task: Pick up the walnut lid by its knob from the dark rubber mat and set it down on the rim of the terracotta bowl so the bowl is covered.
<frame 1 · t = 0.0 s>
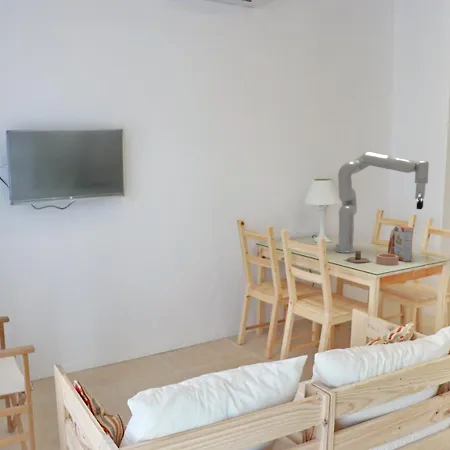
hand: (419, 208, 339), 31 cm above the table, tool pointing down, fingers open, 9 cm apart
mat: (357, 261, 329), on the table
milk carton: (395, 255, 349), on the table, touching cracker box
cracker box: (402, 259, 337), on the table, touching milk carton
bowl: (387, 263, 324), on the table
lid: (357, 261, 329), point 1 cm above the table, touching mat
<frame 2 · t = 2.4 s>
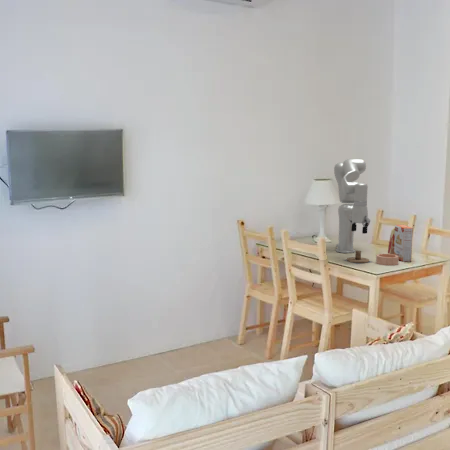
hand: (359, 232, 327), 18 cm above the table, tool pointing down, fingers open, 9 cm apart
nothing on the table moved.
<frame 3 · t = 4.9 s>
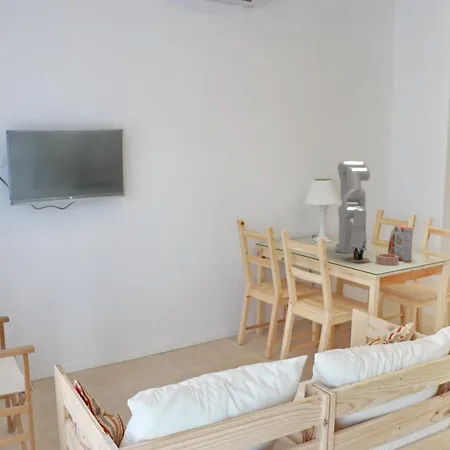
hand: (358, 258, 329), 2 cm above the table, tool pointing down, fingers closed on lid, 3 cm apart
lid: (357, 260, 329), point 1 cm above the table, touching gripper, mat
everything else where it was.
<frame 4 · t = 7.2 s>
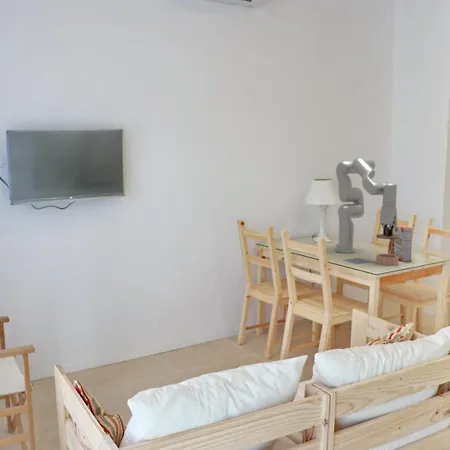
hand: (387, 235, 322), 17 cm above the table, tool pointing down, fingers closed on lid, 3 cm apart
lid: (387, 237, 322), point 16 cm above the table, touching gripper
everything else where it was.
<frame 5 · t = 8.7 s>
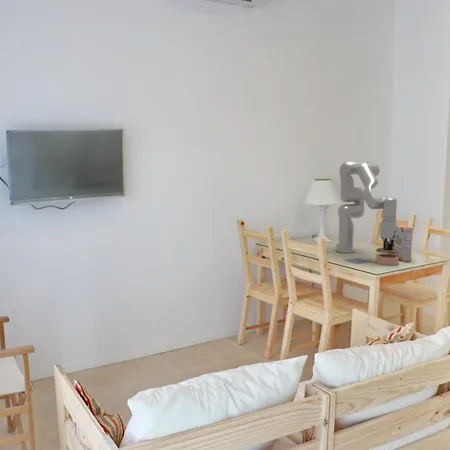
hand: (387, 249, 323), 9 cm above the table, tool pointing down, fingers closed on lid, 3 cm apart
lid: (387, 251, 323), point 8 cm above the table, touching gripper
everything else where it was.
when the fingers open (8 cm above the table, at t = 9.6 s): lid drops 1 cm, resting on bowl.
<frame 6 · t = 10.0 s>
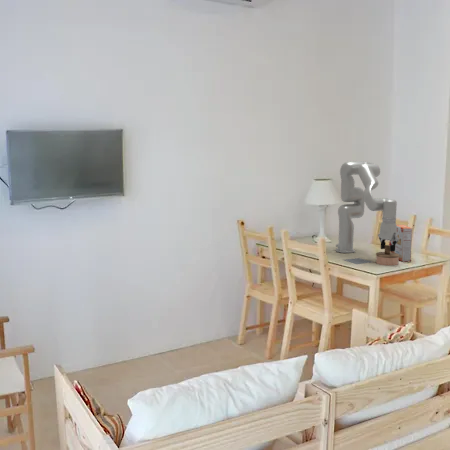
hand: (387, 249, 323), 9 cm above the table, tool pointing down, fingers open, 7 cm apart
lid: (387, 255, 324), point 5 cm above the table, touching bowl
everything else where it was.
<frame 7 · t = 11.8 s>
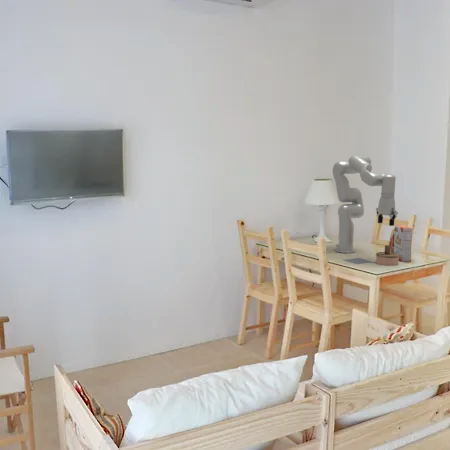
hand: (385, 224, 324), 23 cm above the table, tool pointing down, fingers open, 9 cm apart
nothing on the table moved.
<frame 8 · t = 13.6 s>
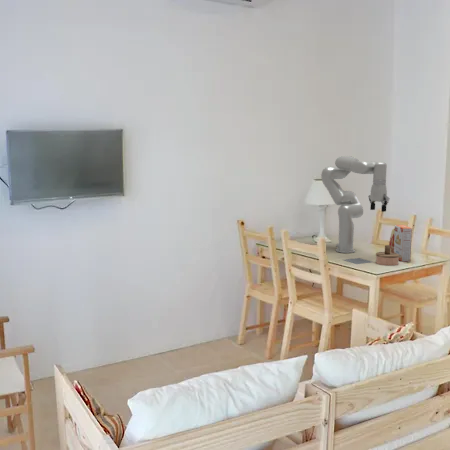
hand: (378, 210, 334), 30 cm above the table, tool pointing down, fingers open, 9 cm apart
nothing on the table moved.
at the end: lid 0.1 cm off-centre on the bowl, point 5.0 cm above the bowl's base; lid tilted 0°; the gripper is holding nothing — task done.
